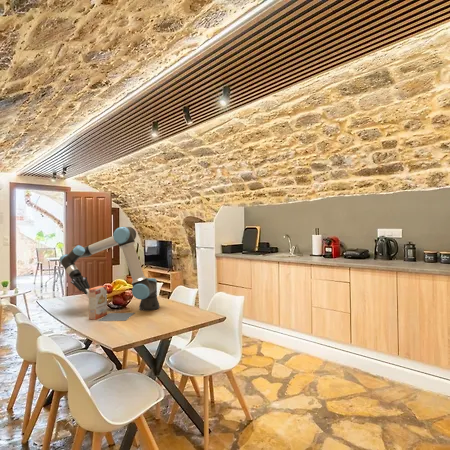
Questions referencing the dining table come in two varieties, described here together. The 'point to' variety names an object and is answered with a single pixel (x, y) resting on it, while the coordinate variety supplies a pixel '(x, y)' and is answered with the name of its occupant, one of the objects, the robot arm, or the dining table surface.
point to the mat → (116, 317)
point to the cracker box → (97, 302)
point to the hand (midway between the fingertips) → (90, 296)
